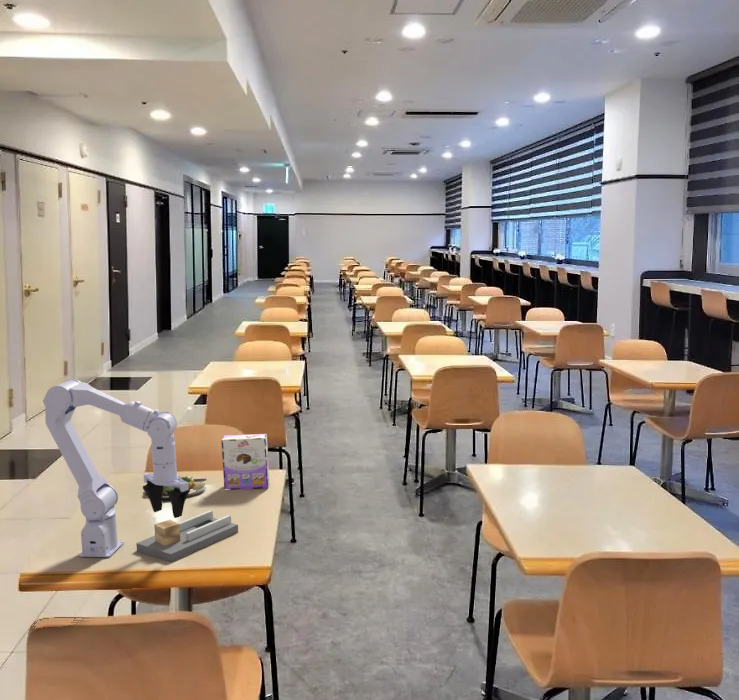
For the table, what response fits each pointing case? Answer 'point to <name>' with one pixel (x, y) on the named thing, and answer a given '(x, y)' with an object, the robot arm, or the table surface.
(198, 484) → the salad plate
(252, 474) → the cake mix box
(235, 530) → the rail jig base
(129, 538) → the table surface
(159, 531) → the block
